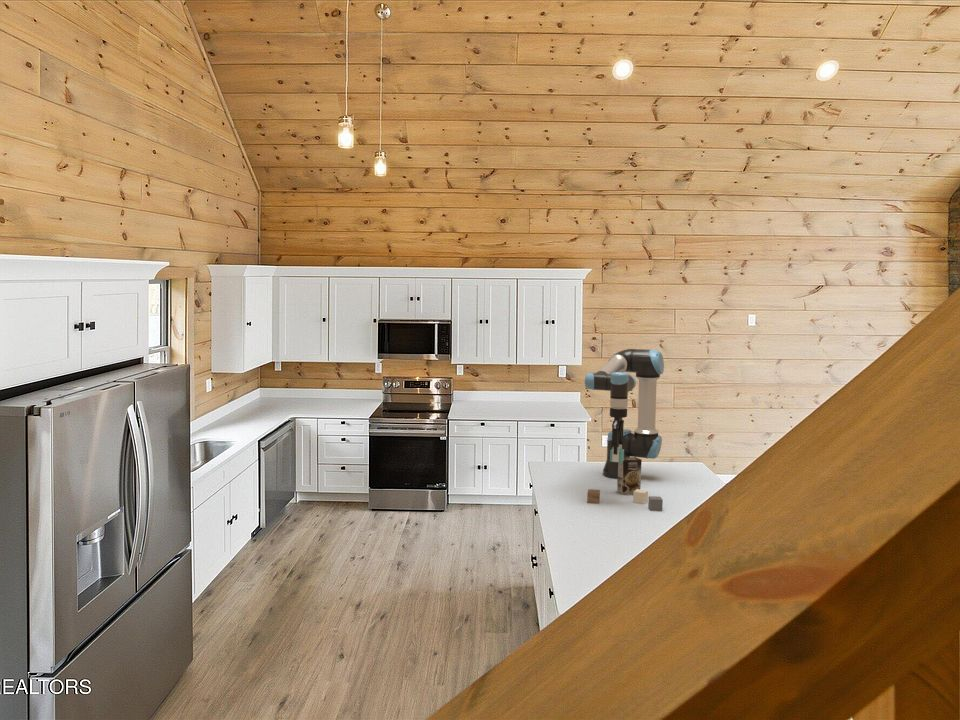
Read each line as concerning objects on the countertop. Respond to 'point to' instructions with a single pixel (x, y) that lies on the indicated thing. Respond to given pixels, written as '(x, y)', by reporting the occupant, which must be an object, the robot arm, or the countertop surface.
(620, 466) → the coffee box
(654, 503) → the charcoal cube
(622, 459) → the teal cube
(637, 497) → the cream cube
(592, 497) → the walnut cube
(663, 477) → the countertop surface
